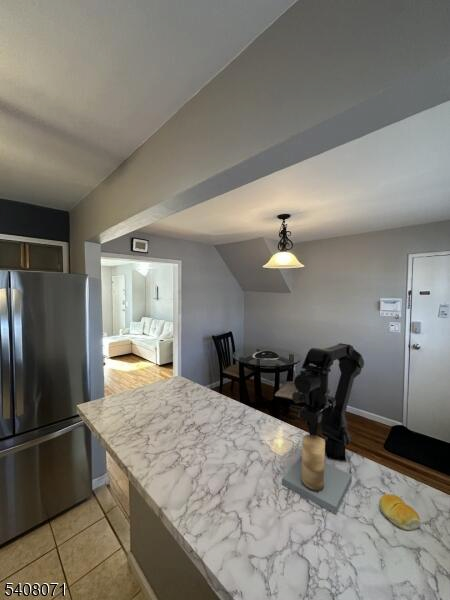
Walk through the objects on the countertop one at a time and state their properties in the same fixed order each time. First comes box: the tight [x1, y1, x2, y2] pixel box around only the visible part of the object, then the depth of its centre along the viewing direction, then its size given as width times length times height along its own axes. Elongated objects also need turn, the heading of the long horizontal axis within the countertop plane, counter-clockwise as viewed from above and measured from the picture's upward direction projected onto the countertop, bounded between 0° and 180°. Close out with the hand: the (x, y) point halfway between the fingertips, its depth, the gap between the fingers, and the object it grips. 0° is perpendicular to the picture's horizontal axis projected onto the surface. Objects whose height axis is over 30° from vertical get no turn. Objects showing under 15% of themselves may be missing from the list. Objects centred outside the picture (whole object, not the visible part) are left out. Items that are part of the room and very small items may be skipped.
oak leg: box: [301, 434, 326, 493], centre depth 75 cm, size 6×6×15 cm
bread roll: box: [378, 493, 421, 531], centre depth 67 cm, size 8×9×4 cm
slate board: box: [281, 455, 353, 515], centre depth 78 cm, size 16×16×2 cm
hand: (317, 432), depth 84 cm, fingers open, 9 cm apart
